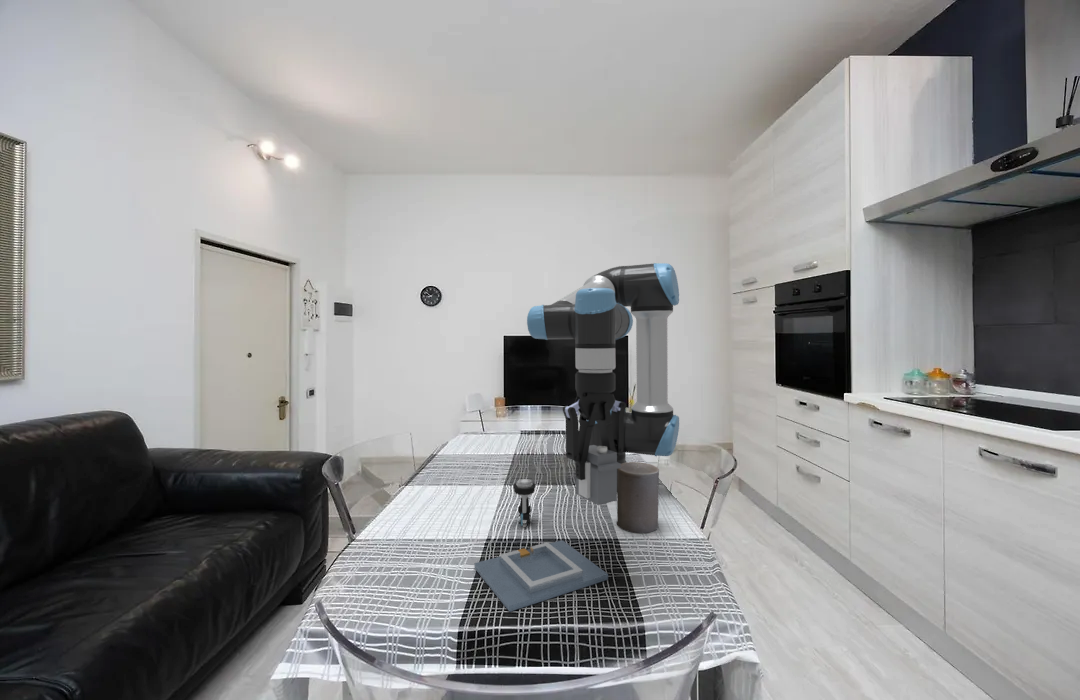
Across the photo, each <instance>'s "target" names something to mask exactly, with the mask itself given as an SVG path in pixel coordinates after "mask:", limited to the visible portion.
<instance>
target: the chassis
mask: <svg viewBox="0 0 1080 700" xmlns="http://www.w3.org/2000/svg"><path fill="white" fill-rule="evenodd" d="M473 568H474V569H475V571H476V572H477V573H478V574H479V576H480V577H481V578H482V580H483V581H484V582H485V584H486V585H487V586H488V587H489V589H490V590H491V591H492V593H494V595H495V596H496V597H497V599H499V601H500V602H501V603H502V605H503V606H504V607H505V608H506V610H507V611H508V612H509V613H511V612H513V611H517V610H520V609H523V608H526V607H530V606H533V605H535V604H538V603H541V602H544V601H546V600H547V601H548V600H550V599H551V600H552V599H554V598H556V597H559V596H562V595H565V594H568V593H572V592H574V591H578V590H581V589H583V588H587V587H590V586H593V585H596V584H599V583H602V582H605V581H608V580H609V574H608V573H607V572H606V571H604V570H603V569H602V568H601V567H599V566H598V565H596V564H595V563H594V562H592V561H591V560H590V559H589V558H587V556H584V555H583V554H582V553H580V552H579V551H578V550H576V549H575V548H574V547H572V545H570V544H568V543H567V542H565V541H564V540H563V539H562V540H556V541H555V542H550V543H549V542H543V543H540V544H535V545H532V546H530V548H525V547H524V548H520V549H517V550H513V551H509V552H505V553H501V554H499V555H498V557H497V556H496V557H493V558H489V559H486V560H481V561H479V562H475V563H474V567H473Z"/></svg>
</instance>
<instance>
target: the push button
mask: <svg viewBox="0 0 1080 700" xmlns="http://www.w3.org/2000/svg"><path fill="white" fill-rule="evenodd" d="M512 488H513V489H514V493H515V494H516V495H518V496H520V504H519V506H518V507H517V508H518V509H517V510H518V511H517V512H518V513H519V514H518V523H519V522H520V526H521V527H522V528H526V527H528V526H529V522H530V523H531V518H532V514H531V512H532V507H531V505H529V504H530V502H529V500H530V499H529V496H530V495H532V494H534V493H535V489H536V484H535V483H534V482H533V481H532V479H529V478H528V479H527V478H520V479H518V480H517V481H516V482H515V483H514V484H513V487H512Z"/></svg>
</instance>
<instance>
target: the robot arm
mask: <svg viewBox="0 0 1080 700" xmlns="http://www.w3.org/2000/svg"><path fill="white" fill-rule="evenodd" d="M679 302H680V290H679V283H678V278H677V273H676V271H675V268H674V267H673V265H671V264H670V263H665V262H664V263H663V262H662V263H659V262H658V263H655V262H653V263H645V264H634V265H619V266H615V267H611V268H609V269H608V268H607V269H605V270H603V271H600V272H598V273H596V274H594V275H592V276H590V277H589V278H587V279H586V280H585V281H584V283H583V284H582V286H581V287H579V288H577V289H576V290H574V291H572V292H571V293H569V294H566V296H564V297H562V298H560V299H559V300H557V301H555V302H553V303H552V304H546V305H545V304H541V305H534V306H532V307H531V308H530V309H529V310H528V313H527V316H526V325H527V331H528V333H529V335H530V336H531V337H532V338H533V339H536V340H537V339H538V340H546V341H549V340H575V345H574V346H575V351H574V352H575V354H574V355H575V358H574V359H575V360H574V361H575V369H576V370H578V371H576V373H575V374H574V377H575V378H574V379H575V384H574V385H575V387H574V388H575V391H576V397H575V401H574V403H572V404H571V405H569V406H568V405H564V406H563V407H562V413H563V415H564V418H565V457H566V458H567V459H569V460H571V461H574V462H575V479H576V478H577V479H579V495H581V496H583V497H585V498H590V462H587V456H588V451H589V446H590V445H596V446H606V447H607V449H608V450H611V451H614V452H617V462H618V463H620V464H622V463H626V462H627V458H626V453H629V454H637V455H639V454H640V455H647V456H654V457H669V456H671V455H673V453H674V452H675V449H676V444H677V441H678V436H679V431H680V430H679V429H680V417H679V416H678V415H677V414H674V408H673V406H672V405H670V404H669V401H668V393H669V391H668V386H669V385H668V380H669V379H668V374H669V373H668V319H669V317H670V315H671V314H673V312H674V306H678V305H679ZM627 307H629V308H630V310H629V309H628V308H627ZM633 317H634V318H635V320H636V321H635V328H636V331H635V333H636V334H635V335H636V337H635V339H636V340H635V345H636V346H635V349H636V356H635V357H636V359H635V360H636V362H635V363H636V402H634V404H633V405H632V406H631V412H628V411H627V409H626V408H627V403H626V402H625V401H619V400H616V397H615V395H614V392H615V391H616V373H615V372H614V371H613V370H615V369H616V366H617V365H616V364H617V363H616V341H617V340H619V339H622V338H624V337H626V336H627V335H628V334H629V333H630V332H631V330H632V328H633V324H634V319H633ZM578 416H579V417H578ZM617 478H618V469H617ZM579 495H578V496H579ZM581 496H580V497H581ZM583 497H582V498H583ZM585 498H584V499H585Z"/></svg>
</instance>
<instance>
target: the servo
mask: <svg viewBox="0 0 1080 700" xmlns="http://www.w3.org/2000/svg"><path fill="white" fill-rule="evenodd" d="M587 462H590V498H585V497H583V496H581V495H579V479H577V478H576V477H575V494H576V495H577V496H579V497H581V498H583V499H584V500H587V501H588V502H590V503H593V504H595V505H597V506H600V505H604V504H609V503H612V502H617V469H618V468H621V464H620V463H618V462H617V452H614V451H611V450H608V449H607V447H606V446H596V445H590V446H589V451H588V456H587Z"/></svg>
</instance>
